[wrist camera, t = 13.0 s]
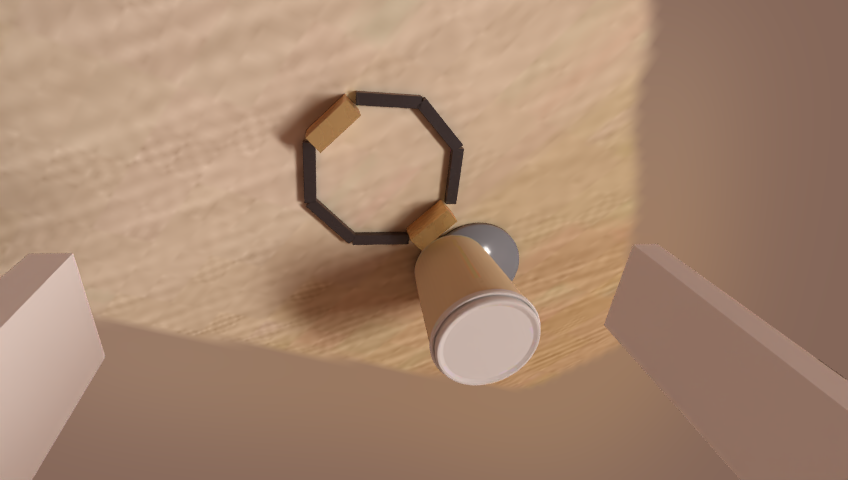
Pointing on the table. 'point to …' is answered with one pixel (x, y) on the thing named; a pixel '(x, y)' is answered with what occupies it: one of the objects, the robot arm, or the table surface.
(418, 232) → the socket ring
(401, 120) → the table surface
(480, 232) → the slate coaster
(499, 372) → the coffee cup
